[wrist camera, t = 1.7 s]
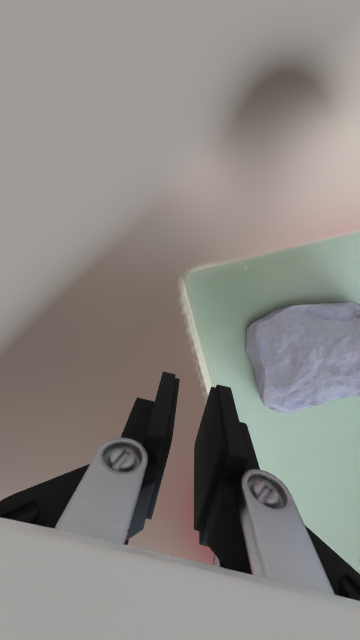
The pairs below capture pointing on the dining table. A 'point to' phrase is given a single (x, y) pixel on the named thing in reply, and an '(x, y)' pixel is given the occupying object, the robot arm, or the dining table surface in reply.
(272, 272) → the dining table surface
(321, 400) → the stone block
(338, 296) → the dining table surface
